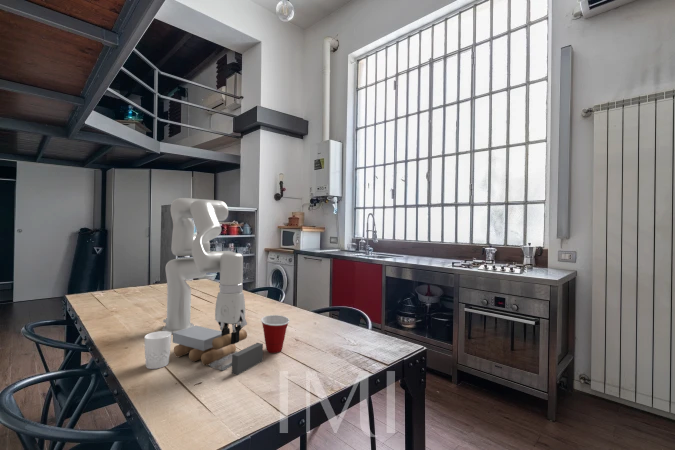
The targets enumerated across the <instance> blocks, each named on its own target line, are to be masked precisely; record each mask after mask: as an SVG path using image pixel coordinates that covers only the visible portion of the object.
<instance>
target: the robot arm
mask: <svg viewBox="0 0 675 450" xmlns="http://www.w3.org/2000/svg"><path fill="white" fill-rule="evenodd" d="M170 216H171V218H172V235H171V236H172V237H171V246H170V247H171V253H172V255H173V256H176V257H179V258H174V259H170V260H169V261H168V262H166V265H165V268H164V269H165V275H166V285H167V286H166V288H167V293H166V295H167V296H166V317H165V319H163V320H162V322H163V323H164V324H165V326H163V327H162V331H168V332H171V335H173V333H174V332H177V331H180V330H183V329H187V328H190V327H193V326H195V325H194V324H193V323H192V322H191V314H192V313H191V308H192V306H191V304H192V289H191V287H190V285H189V284H188V282H187V281H186V280H192V279H201V278H204V277H205V276H206V275H207V274H212V273H219V285H218V288H219V292H218V293H217V295H216V300H215V308H214V310H215V311H214V320H215V321H216V322H217V323H218V325H219V329H220V330H219V331H222V336H224V335H227V334H230V333H231V344H235V345H236V344H238V343H240V341H239V331H240V330H242V329H244V328H243V327H245V326H247V325H248V322H247V320H246V301H245V300H246V299H245V293H244V292H243V289H244V288H243V287H244V285H243V282H244V281H243V280H244V277H243V276H244V256H243V254H242V253H240V252H234V251H232V250H219V251H211V242H210V241H211V240H214V239H216V238H217V237H218V236H219V235H220V234H221V232H222V227H221V223H220V222H223V221H225V220H227V218H228V216H229V207H228V205H227V204H226V202H224V201H222V200H218V199H217V200H216V199H206V198H205V199H202V198H201V199H200V198H193V197H192V198H191V197H190V198H189V197H178V198H175V199H174V200H173V201H172V202H171V204H170ZM192 219H193V220H192ZM195 228H196V231H197V234H195ZM180 257H182V258H180ZM230 325H231V328H232V332H231V329H230V327H229V326H230Z"/></svg>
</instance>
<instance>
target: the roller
mask: <svg viewBox="0 0 675 450" xmlns="http://www.w3.org/2000/svg"><path fill="white" fill-rule="evenodd" d="M247 332H248V331H247V330H246V329H244V328H242V329H241V330H240V331H239V342H241V341H245V340H246V339H247V337H248V333H247ZM231 333H232V332H230V334H227V335H224V336H221V337H218V338H215V339H213V341H212V346H213V348H214V349H215V350H218V349H220V348H223V347H226V346H228V345H231Z"/></svg>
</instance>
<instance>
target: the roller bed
mask: <svg viewBox="0 0 675 450" xmlns="http://www.w3.org/2000/svg"><path fill="white" fill-rule="evenodd" d="M235 351H237V346H236V343H235V344H231V345H228V346H226V347H223V348H220V349H218V350H215V349H214V348H213V347H212V348H210V349H207V350H205V351H202V350H198V349H195V348H191V347H187V346H184V345H180V344H177V345H175V346H174V348H173V354H174V356H175V357H176V358H179V357H180V358H181V357H182V356H185V355H187V354H188V357H189V360H190V361H191V362H193V363H194V362H198V361H199V360H200V361H201V363H202V364H203V366H209V363H211V362H213V361H215V360H217V359H220V358H222V357H224V356H226V355H228V354H230V353H233V352H235Z"/></svg>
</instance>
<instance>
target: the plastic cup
mask: <svg viewBox="0 0 675 450" xmlns="http://www.w3.org/2000/svg"><path fill="white" fill-rule="evenodd" d="M290 321H291V320H290V318H289V317H288V316H284V315H279V314H273V315H272V314H270V315H265V316H263V317H261V319H260V322H261V324H262V325H261V326H262V329H263V337H264V342H265V349H266V352H267V353H269V354H275V353H276V354H277V353H280V352H282V350H283V348H284V347H283V346H284V342H285V337H286V333H287V327H288V324H289V323H290Z"/></svg>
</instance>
